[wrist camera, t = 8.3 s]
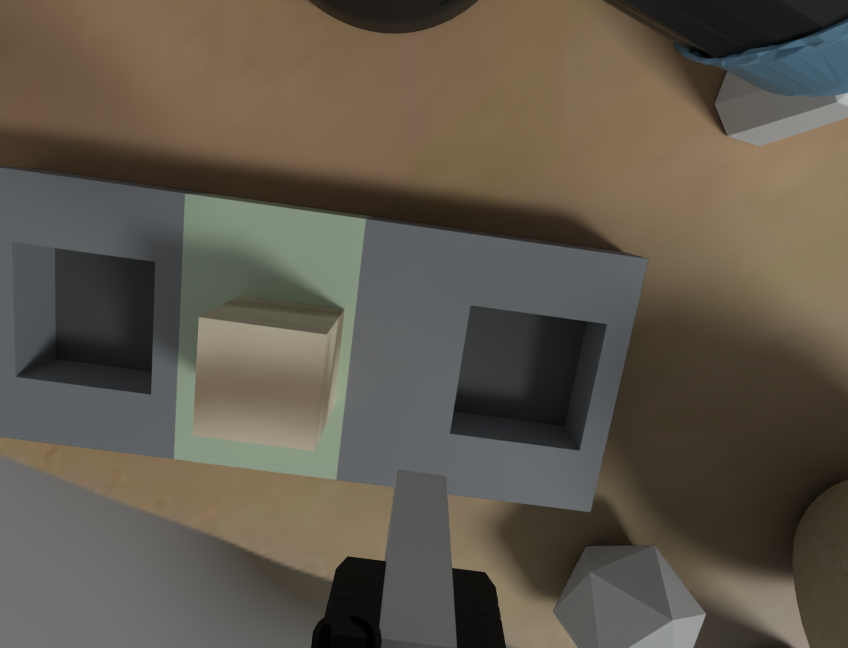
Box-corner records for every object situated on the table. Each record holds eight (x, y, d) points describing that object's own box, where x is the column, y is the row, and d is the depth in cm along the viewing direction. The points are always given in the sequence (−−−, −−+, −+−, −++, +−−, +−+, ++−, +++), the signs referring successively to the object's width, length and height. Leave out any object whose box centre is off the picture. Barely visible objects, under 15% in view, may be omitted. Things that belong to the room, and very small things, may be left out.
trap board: (32, 168, 34) (-18, 164, 30) (623, 252, 35) (648, 259, 31) (36, 410, 38) (-8, 435, 34) (573, 480, 39) (590, 512, 35)
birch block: (240, 294, 32) (198, 317, 26) (344, 309, 32) (326, 334, 26) (233, 393, 33) (192, 435, 27) (333, 406, 33) (314, 451, 28)
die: (525, 591, 42) (600, 738, 35) (549, 535, 36) (645, 699, 29) (615, 554, 44) (700, 685, 38) (651, 496, 38) (760, 639, 32)
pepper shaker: (712, 151, 34) (846, 131, 23) (713, 55, 33) (854, -13, 22) (803, 141, 34) (979, 116, 23) (806, 44, 33) (995, -30, 22)
